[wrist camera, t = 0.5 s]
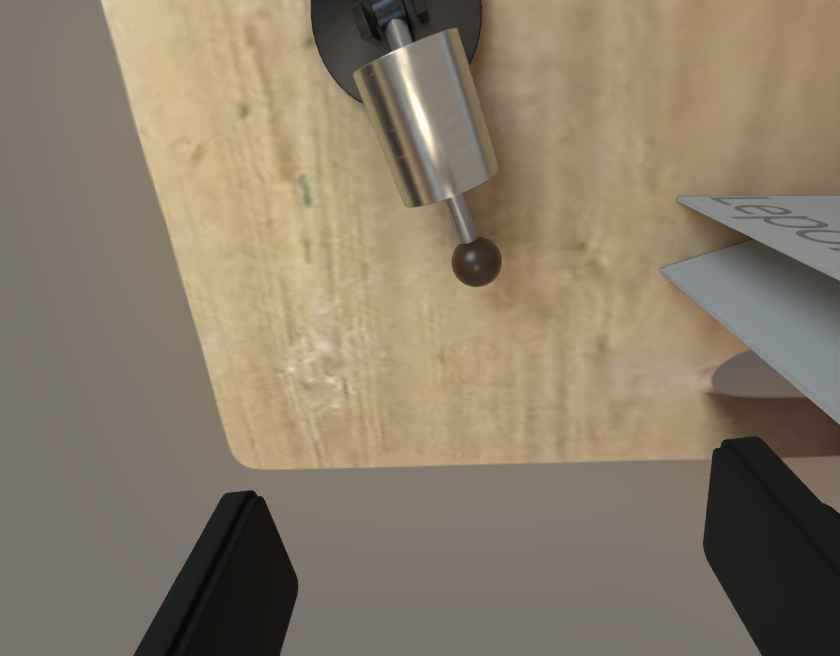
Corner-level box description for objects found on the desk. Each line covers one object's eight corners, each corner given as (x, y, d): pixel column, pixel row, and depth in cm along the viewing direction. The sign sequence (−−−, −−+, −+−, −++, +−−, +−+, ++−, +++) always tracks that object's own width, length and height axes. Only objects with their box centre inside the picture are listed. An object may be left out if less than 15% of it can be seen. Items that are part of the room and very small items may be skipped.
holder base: (501, 74, 30) (512, 73, 25) (356, 135, 32) (341, 144, 27) (448, -121, 26) (449, -168, 21) (285, -37, 28) (253, -63, 23)
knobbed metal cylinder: (521, 254, 33) (537, 286, 28) (441, 281, 34) (440, 317, 29) (439, -22, 26) (439, -50, 21) (341, 24, 27) (317, 9, 22)
